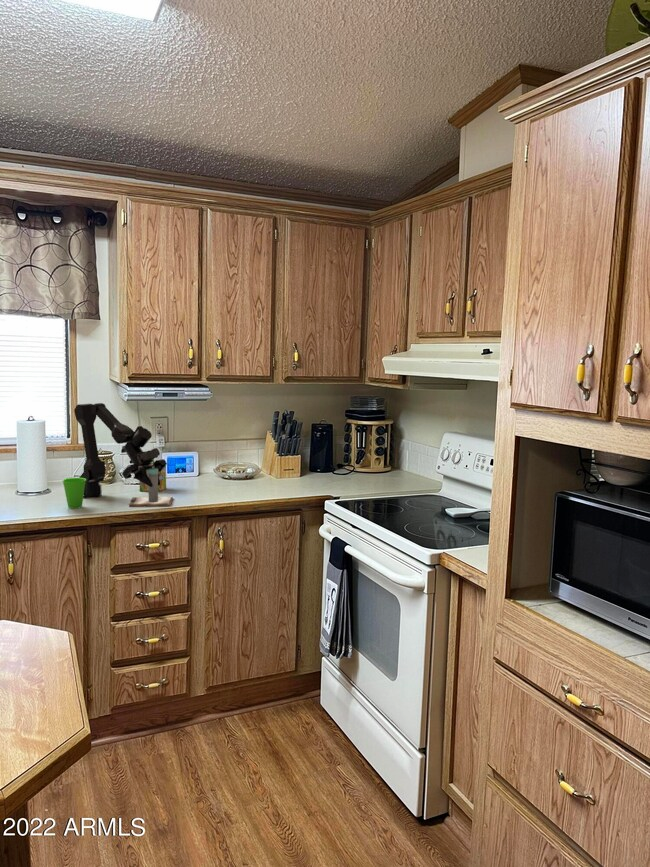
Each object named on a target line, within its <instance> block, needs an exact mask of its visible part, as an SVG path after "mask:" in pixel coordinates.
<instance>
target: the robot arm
mask: <svg viewBox="0 0 650 867" xmlns="http://www.w3.org/2000/svg"><path fill="white" fill-rule="evenodd" d="M73 411H74V415H75V418H76V419H75V420H76V421H77V422H78V424H79V425H80V426H81V434H82V438H83V445H84V446H83V447H84V453H85V458H86V459H85V461H84V464H83V472H82V474H81V475H80V476H79V477H78V478H85V479H86V482H85V489H84V496H83V499H86V498H87V499H89V498H90V499H91V498H92V497H99V496H100V497H101V495H102V491H103V490H102V487H103V486H102V484H101V482H104V480H105V476H106V471H107V469H106V461H104V460H102V459H101V458H99V451H98V444H97V437H96V431H95V426H94V425H95V422H96V419H97V417H98V419H100V421H101V422H102V423H103V424H104V425H105V426H106V427H107V428H108V429H109V431H110V432H111V437H112V439H113V440H114V441H115V443H116V444H119V445H120V444H124V445H122V446H121V450H120V453H121V454H125V453H126V455H127V456H128V458H129V459H130V460H129V463H130V464H129V465H127V466H126V468H124V470H123V471H122V476H123V478H124V479H125V480H126V479H127V480H128V479H131V478H133V479H134V480H135V479H136V480H137V481H139V482H140V481H141V482H143V483H145V484H146V485H148V486H150V487H152V486H153V485H152V482H151V481H150V479H149V477H148V475H147V474H146V471H147V470H148V469H150V468H157V469H158V472H161V471H162V469H163V468H164V467H165V466H166V467H167V464H168V463H167V461H166V460H165V458H164V459H158V458H159V456H160V454H161V453H160V450H159V449H158V448H157V447H153V449H151V450H147V451H143V449H142V448H144V447H145V446H146V445H147V443H149V441H150V439H151V438H152V437H153V436H152V432H151V431H150V430H149V429H147V428H145V427H144V426H142V425H139V426H137V427H136V428H135V430H134V429H132V428H131V427H129V425H126V424H124V423H122V422H120V421H119V420H118V418H117V417H115V415H114V414H113V413H112V412H111V411H110V410H109V409H108V408H107V406H106V404H105V403H102V402H99V403H96V402H95V403H81V404H80V403H78V404H77V405H76V406H75V407H74V409H73ZM152 459H156V460H154V464H150V463H153V460H152ZM132 475H134V476H133V477H132ZM158 485H160V479H159V473H158ZM100 497H99V498H100Z"/></svg>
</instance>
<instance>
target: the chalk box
mask: <svg viewBox="0 0 650 867" xmlns="http://www.w3.org/2000/svg"><path fill="white" fill-rule="evenodd" d="M154 459H155V458H154ZM154 459H152V460H153V462H152V463H150V464H154V462H155V460H154ZM158 473H159V479H160V485H158V493H159V492H161V491H164V490H166V489H167V465H166V466H165V467H164V468H163V469H162V471H161V472H158ZM146 474H147V475H148V470H147V471H146ZM139 492H148V493H149V486H148V485H146V484H145V483H143V482H141V481H139Z"/></svg>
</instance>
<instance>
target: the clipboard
mask: <svg viewBox="0 0 650 867" xmlns="http://www.w3.org/2000/svg"><path fill="white" fill-rule="evenodd" d="M172 502H173V496H158V502H154V503H151V502H149V496H141V497H140V496H139V497H138V496H137V497H135V496H133V497H131V499H130V503H129V506H128V507H129V508H131V507H133V508H135V507H142V508H143V507H144V506H145V507H146V508H147V507H171V505H172ZM134 506H135V507H134Z"/></svg>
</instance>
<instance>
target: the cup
mask: <svg viewBox="0 0 650 867" xmlns="http://www.w3.org/2000/svg"><path fill="white" fill-rule="evenodd" d="M61 482H62V483H63V488H64V492H65V497H66V503H67V507H68V508H69V509H80V508H82V507H81V506H83V501H84V498H83V496H84V489H85V482H86V479H85V478H79V477H68V478H64V479H62V481H61ZM79 507H80V508H79Z"/></svg>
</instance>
